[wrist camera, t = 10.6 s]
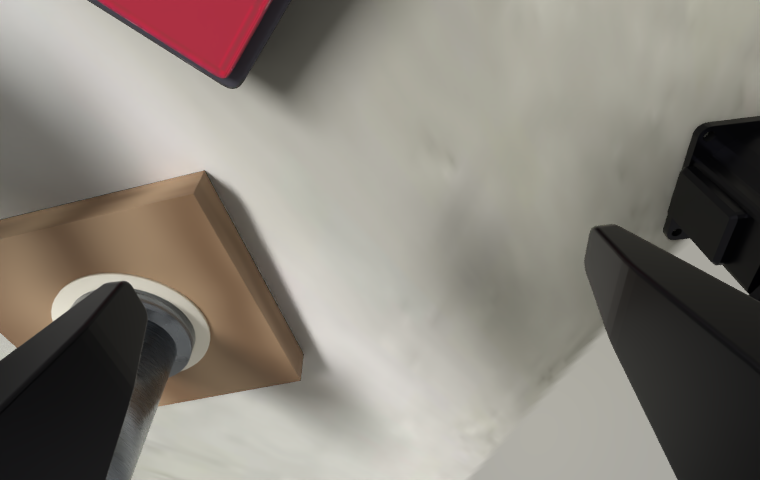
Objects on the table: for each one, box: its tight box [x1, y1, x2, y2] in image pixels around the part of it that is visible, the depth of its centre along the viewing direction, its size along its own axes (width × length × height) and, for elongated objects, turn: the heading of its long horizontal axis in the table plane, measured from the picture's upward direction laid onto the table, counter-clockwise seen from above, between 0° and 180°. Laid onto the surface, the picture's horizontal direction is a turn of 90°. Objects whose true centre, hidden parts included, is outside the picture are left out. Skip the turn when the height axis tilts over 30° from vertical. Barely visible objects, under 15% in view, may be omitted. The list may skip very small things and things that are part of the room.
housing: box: [70, 289, 196, 480], centre depth 21 cm, size 6×6×13 cm
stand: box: [0, 171, 304, 406], centre depth 27 cm, size 14×14×2 cm
